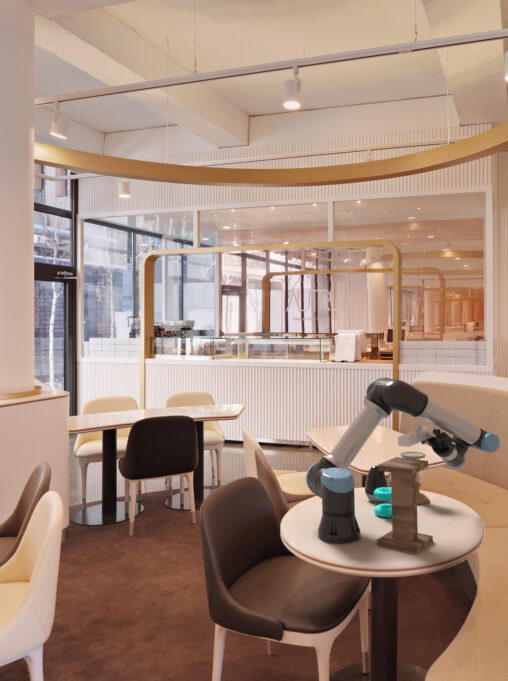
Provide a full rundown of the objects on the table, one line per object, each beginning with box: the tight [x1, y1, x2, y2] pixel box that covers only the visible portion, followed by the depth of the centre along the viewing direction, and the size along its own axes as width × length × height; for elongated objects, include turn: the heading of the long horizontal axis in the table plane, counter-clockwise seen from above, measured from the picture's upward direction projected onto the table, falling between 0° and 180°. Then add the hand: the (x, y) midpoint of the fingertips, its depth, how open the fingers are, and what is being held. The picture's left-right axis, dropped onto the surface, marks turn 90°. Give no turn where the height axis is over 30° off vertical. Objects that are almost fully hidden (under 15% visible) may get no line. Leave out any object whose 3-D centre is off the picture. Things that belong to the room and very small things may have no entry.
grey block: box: [397, 426, 437, 448], centre depth 208 cm, size 24×4×3 cm, turn 140°
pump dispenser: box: [364, 464, 388, 503], centre depth 249 cm, size 10×10×15 cm
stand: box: [376, 456, 434, 555], centre depth 198 cm, size 14×14×28 cm
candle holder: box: [400, 451, 430, 505], centre depth 247 cm, size 12×12×20 cm
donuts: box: [373, 487, 392, 519], centre depth 229 cm, size 10×10×10 cm
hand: (422, 426), depth 211 cm, fingers closed on grey block, 4 cm apart
